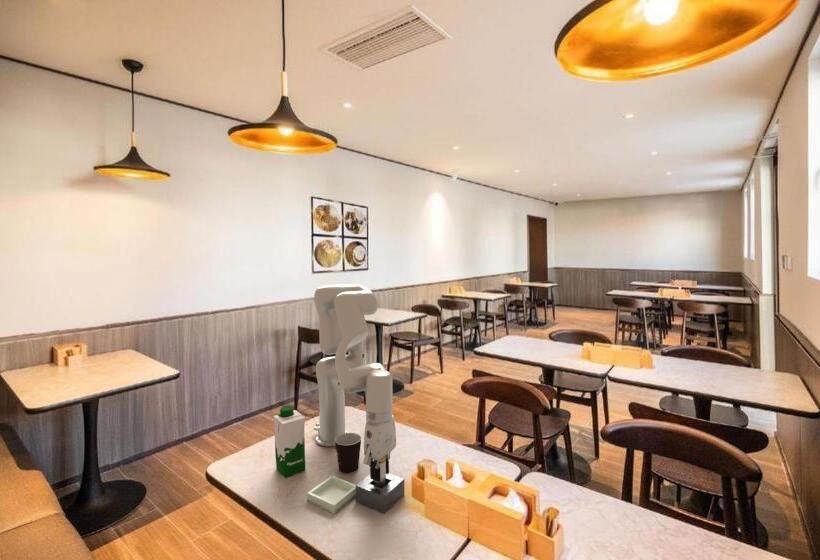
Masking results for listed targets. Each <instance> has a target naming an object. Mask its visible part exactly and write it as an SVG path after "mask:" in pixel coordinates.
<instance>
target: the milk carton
mask: <svg viewBox="0 0 820 560" xmlns="http://www.w3.org/2000/svg"><path fill="white" fill-rule="evenodd" d="M279 412H280V413H279V414H276V415H273V422H274V423H273V424H274V445H275V446H274V448H275V449H274V450H275V452H274V455H275V466H276V470H277V471H278V472H279V473H280V474H281V476H283V478H284V479H287V478H289V477H292V476H295V475H297V474H300V473H302V472H305V471H306V448H305V447H306V444H305V441H306V440H305V424H306V423H305V421H306V417H305V416H304V415H303V414H302V413H300V412H299V411H297V410H296V409H294V408H293V406H290V405H287V406H282V407H281V408H280V409H279Z"/></svg>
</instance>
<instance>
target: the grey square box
mask: <svg viewBox="0 0 820 560" xmlns="http://www.w3.org/2000/svg"><path fill="white" fill-rule="evenodd" d="M355 485H356V497H355V503H357V504H359V505H362V506H364V507H366V508H369V509H370V510H374V511H375V512H378V513H380V514H384V515H386V514H387V513H388V512H389V511H390V510H391V509H392V508H393V507H395V505H396V504H397V503H398V502H399V501H400V500H401V499H402V498H403V497H404V496H405V478H404V477H401V476H398V475H395V474H392V473H390V472H389V474H386V486H385V487H384V488H379V487H376V486H374V480H373V479H371V478H370V474H368V475H367V476H366V477H365V478H363V479H362V480H361V481H359V482H358V483H357V484H355Z"/></svg>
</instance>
